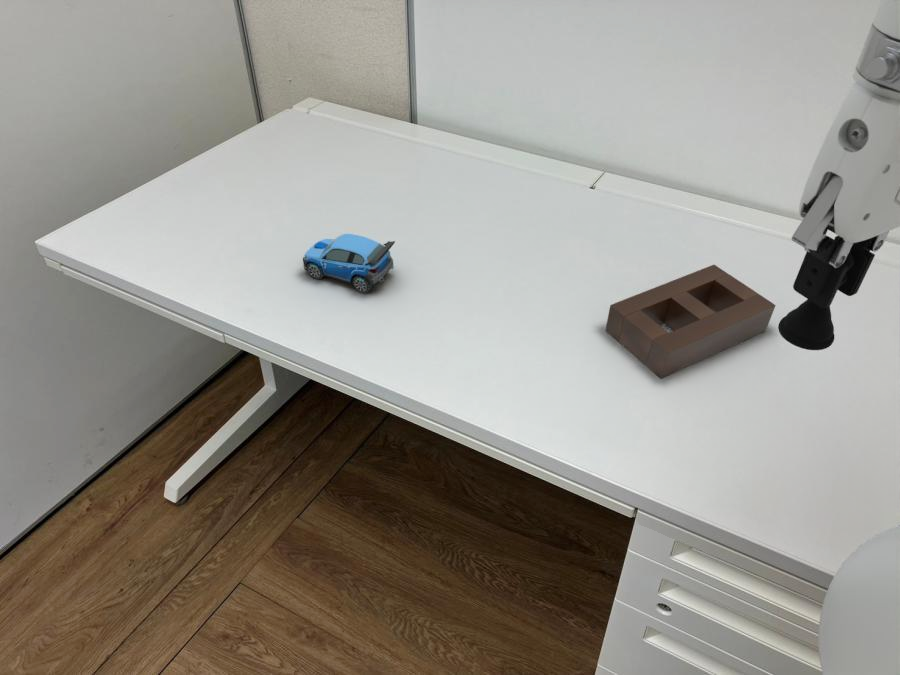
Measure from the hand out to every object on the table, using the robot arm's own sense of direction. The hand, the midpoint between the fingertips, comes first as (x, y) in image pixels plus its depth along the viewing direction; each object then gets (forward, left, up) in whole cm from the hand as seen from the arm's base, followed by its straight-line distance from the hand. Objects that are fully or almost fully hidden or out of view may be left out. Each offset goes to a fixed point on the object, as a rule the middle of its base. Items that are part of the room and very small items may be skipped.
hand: (824, 290), depth 57 cm
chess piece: (0, 0, -5) cm, 5 cm away
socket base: (+18, -9, -21) cm, 29 cm away
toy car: (+49, +22, -21) cm, 58 cm away
